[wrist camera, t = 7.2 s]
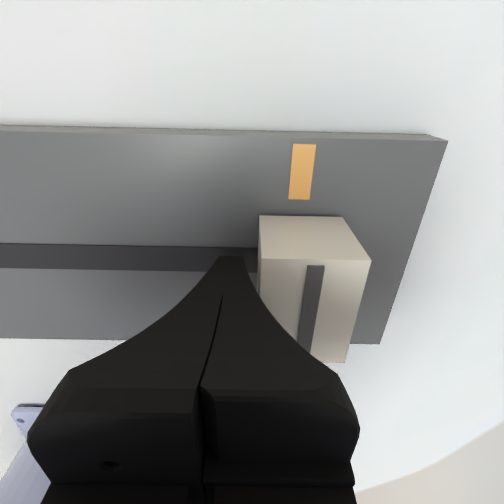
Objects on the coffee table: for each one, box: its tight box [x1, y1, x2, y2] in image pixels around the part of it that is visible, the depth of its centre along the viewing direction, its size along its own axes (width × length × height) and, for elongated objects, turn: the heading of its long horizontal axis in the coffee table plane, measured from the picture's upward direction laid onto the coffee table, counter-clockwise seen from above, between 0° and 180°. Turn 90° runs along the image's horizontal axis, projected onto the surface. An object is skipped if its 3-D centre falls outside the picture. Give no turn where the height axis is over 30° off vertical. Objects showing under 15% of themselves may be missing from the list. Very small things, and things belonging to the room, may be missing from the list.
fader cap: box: [257, 215, 372, 363], centre depth 11 cm, size 4×3×3 cm
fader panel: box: [0, 125, 448, 344], centre depth 13 cm, size 10×26×2 cm, turn 89°
